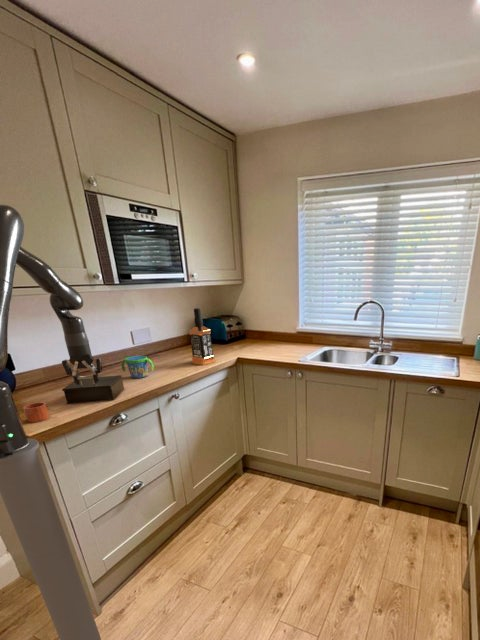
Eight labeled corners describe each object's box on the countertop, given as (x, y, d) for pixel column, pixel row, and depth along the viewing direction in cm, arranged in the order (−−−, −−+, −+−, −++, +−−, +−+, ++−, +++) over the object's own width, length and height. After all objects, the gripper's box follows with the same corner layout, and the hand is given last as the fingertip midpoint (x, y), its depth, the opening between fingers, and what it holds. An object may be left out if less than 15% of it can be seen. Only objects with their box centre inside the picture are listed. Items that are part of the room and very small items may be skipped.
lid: (110, 387, 138) (107, 375, 136) (62, 391, 134) (59, 378, 132) (121, 376, 153) (119, 366, 151) (79, 379, 149) (76, 368, 147)
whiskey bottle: (215, 361, 203) (209, 308, 192) (204, 365, 195) (197, 309, 184) (203, 359, 208) (196, 307, 197) (191, 363, 200) (183, 309, 188)
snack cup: (159, 374, 178) (155, 355, 175) (148, 379, 168) (145, 360, 165) (131, 373, 179) (127, 355, 176) (119, 379, 169) (115, 360, 166)
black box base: (113, 400, 141) (110, 387, 139) (67, 403, 137) (63, 390, 135) (124, 388, 155) (121, 377, 153) (82, 392, 151) (79, 379, 149)
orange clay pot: (44, 421, 120) (39, 407, 118) (24, 423, 119) (19, 409, 117) (52, 415, 126) (48, 401, 124) (33, 416, 125) (29, 403, 123)
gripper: (52, 346, 127) (64, 387, 133) (94, 344, 130) (103, 384, 136) (61, 342, 134) (72, 382, 140) (100, 341, 137) (109, 379, 143)
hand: (87, 383), depth 138 cm, fingers closed on lid, 6 cm apart
